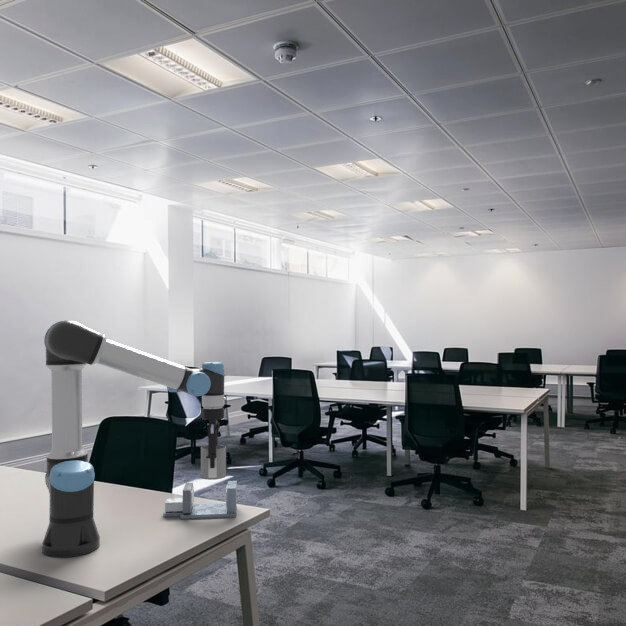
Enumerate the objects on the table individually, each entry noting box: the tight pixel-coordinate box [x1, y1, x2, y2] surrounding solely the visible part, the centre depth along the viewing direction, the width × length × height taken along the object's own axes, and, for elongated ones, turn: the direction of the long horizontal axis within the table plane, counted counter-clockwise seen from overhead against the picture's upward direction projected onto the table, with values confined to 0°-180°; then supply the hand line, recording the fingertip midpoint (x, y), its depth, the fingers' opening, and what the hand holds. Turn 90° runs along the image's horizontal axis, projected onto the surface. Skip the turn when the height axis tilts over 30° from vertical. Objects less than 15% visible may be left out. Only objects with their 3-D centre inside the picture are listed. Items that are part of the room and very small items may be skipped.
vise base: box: [163, 480, 238, 520], centre depth 200 cm, size 12×24×9 cm, turn 97°
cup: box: [200, 444, 227, 480], centre depth 201 cm, size 8×8×10 cm
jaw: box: [164, 482, 195, 513], centre depth 199 cm, size 10×9×8 cm
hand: (213, 474), depth 201 cm, fingers closed on cup, 8 cm apart
